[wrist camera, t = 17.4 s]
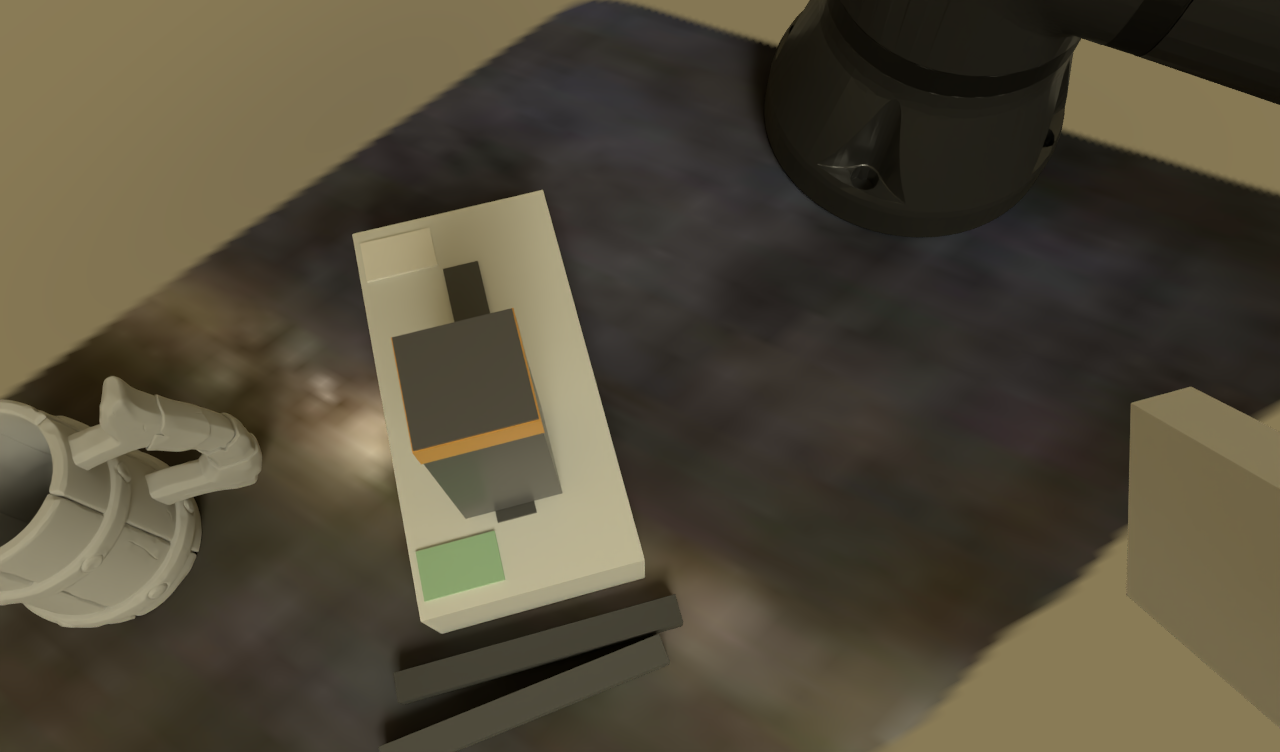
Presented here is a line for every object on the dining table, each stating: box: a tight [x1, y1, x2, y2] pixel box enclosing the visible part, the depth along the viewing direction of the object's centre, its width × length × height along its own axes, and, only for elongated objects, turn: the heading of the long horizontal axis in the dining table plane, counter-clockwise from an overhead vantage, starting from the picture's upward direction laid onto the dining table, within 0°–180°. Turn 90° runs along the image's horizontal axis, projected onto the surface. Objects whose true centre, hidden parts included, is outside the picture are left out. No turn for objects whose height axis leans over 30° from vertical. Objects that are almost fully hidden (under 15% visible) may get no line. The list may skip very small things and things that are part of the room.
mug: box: [0, 376, 262, 628], centre depth 36 cm, size 8×12×12 cm, turn 116°
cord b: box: [378, 634, 670, 752], centre depth 38 cm, size 12×1×1 cm, turn 111°
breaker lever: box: [391, 308, 563, 519], centre depth 33 cm, size 4×4×9 cm
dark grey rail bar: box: [393, 594, 683, 704], centre depth 38 cm, size 12×1×1 cm, turn 105°
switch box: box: [352, 190, 645, 634], centre depth 41 cm, size 9×18×4 cm, turn 15°
